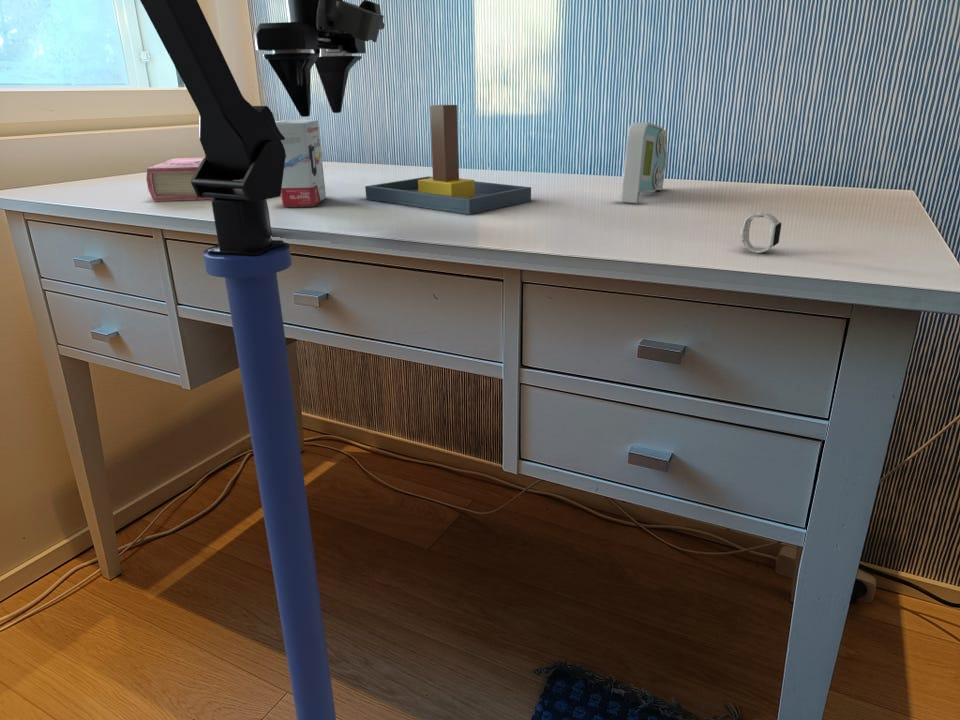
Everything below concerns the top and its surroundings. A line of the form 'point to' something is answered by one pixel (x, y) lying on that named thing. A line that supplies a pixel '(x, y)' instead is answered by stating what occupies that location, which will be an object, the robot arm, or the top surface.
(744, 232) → the smartwatch
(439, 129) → the sponge brush
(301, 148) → the ink box
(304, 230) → the top surface
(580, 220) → the top surface
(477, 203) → the tray
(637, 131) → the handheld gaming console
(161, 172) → the book
